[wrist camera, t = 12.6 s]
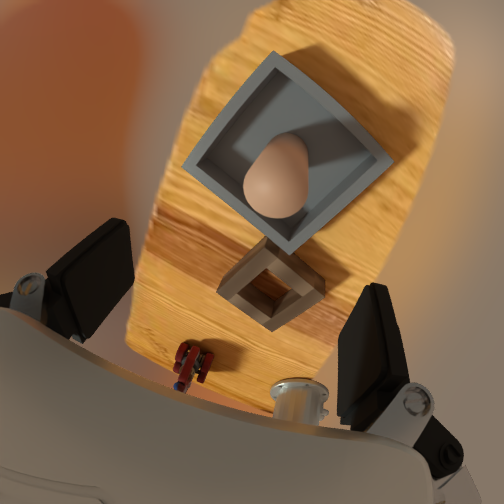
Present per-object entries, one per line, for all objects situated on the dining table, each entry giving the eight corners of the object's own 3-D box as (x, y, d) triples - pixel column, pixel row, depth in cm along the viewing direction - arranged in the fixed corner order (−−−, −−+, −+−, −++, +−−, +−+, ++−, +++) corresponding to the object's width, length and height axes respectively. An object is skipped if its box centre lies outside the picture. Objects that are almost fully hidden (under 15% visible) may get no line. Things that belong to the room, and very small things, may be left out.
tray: (384, 153, 25) (394, 161, 22) (292, 237, 33) (289, 255, 30) (278, 56, 22) (273, 50, 19) (195, 157, 30) (181, 166, 27)
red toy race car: (217, 346, 48) (200, 392, 40) (207, 374, 56) (192, 413, 47) (183, 332, 48) (161, 376, 40) (178, 362, 56) (160, 400, 47)
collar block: (324, 280, 35) (325, 297, 32) (275, 315, 41) (272, 332, 38) (269, 232, 33) (264, 247, 30) (223, 276, 39) (216, 292, 36)
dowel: (312, 138, 25) (315, 165, 16) (303, 176, 28) (300, 224, 19) (269, 129, 26) (247, 151, 17) (263, 168, 28) (239, 211, 19)
